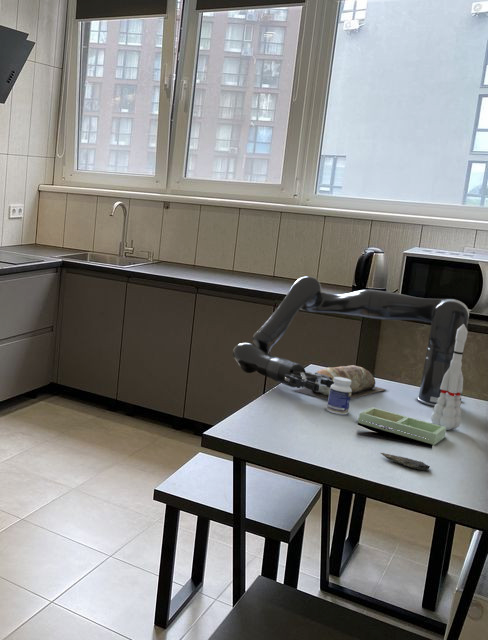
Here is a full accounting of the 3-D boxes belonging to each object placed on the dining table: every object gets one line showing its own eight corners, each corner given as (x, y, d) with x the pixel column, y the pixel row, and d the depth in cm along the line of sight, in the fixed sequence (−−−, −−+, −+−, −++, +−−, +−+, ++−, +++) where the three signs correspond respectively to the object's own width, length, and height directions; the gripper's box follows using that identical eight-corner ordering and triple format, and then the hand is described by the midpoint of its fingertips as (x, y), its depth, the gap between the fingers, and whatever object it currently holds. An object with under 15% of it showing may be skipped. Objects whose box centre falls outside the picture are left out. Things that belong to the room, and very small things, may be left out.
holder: (370, 416, 214) (371, 406, 213) (444, 437, 200) (446, 427, 200) (358, 422, 206) (359, 412, 206) (434, 445, 193) (436, 434, 193)
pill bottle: (350, 416, 212) (355, 382, 210) (329, 413, 213) (334, 379, 211) (344, 410, 217) (350, 377, 216) (324, 407, 218) (329, 374, 217)
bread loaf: (332, 377, 258) (335, 351, 257) (387, 388, 246) (390, 361, 245) (292, 397, 233) (294, 368, 232) (351, 410, 221) (354, 380, 220)
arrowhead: (378, 456, 181) (379, 450, 181) (422, 463, 179) (423, 457, 178) (386, 467, 174) (387, 461, 174) (432, 474, 172) (433, 468, 172)
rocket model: (426, 421, 214) (445, 319, 209) (455, 426, 211) (475, 323, 207) (432, 429, 207) (452, 324, 202) (462, 434, 205) (483, 328, 200)
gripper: (300, 382, 236) (343, 398, 222) (266, 384, 230) (308, 401, 216) (303, 359, 235) (347, 374, 221) (270, 361, 229) (312, 376, 215)
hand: (328, 387), depth 218 cm, fingers open, 8 cm apart
